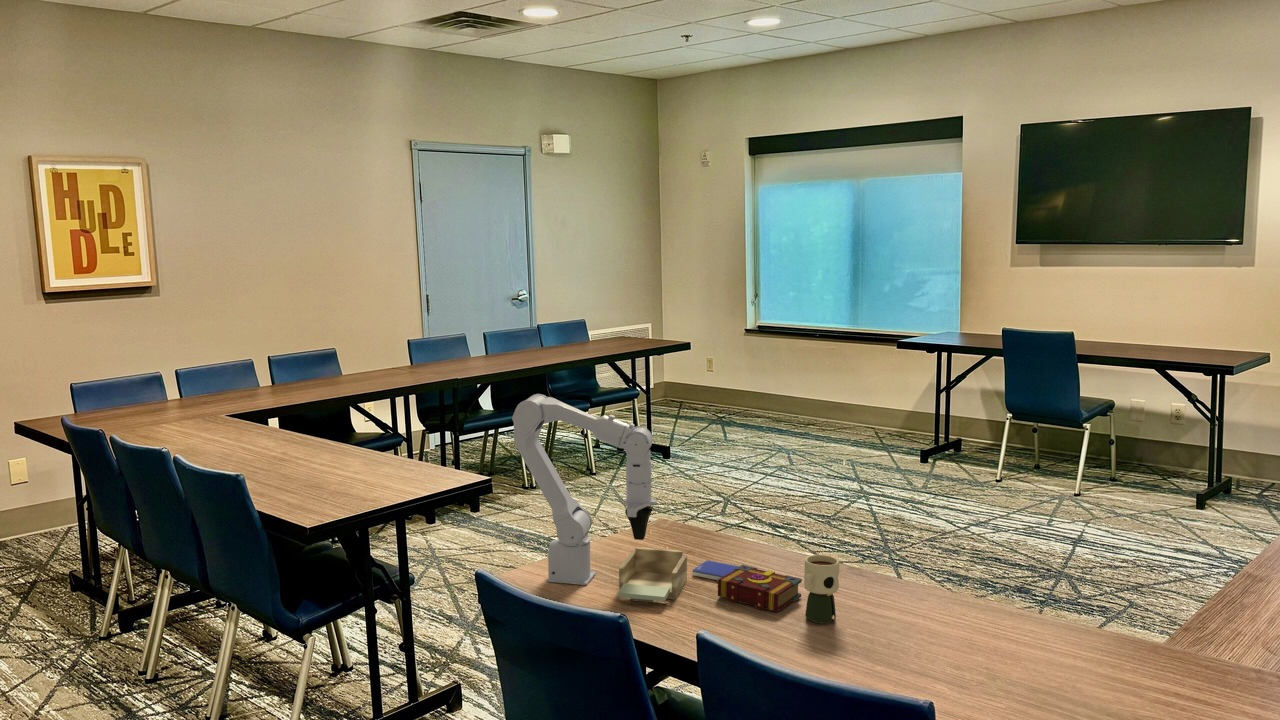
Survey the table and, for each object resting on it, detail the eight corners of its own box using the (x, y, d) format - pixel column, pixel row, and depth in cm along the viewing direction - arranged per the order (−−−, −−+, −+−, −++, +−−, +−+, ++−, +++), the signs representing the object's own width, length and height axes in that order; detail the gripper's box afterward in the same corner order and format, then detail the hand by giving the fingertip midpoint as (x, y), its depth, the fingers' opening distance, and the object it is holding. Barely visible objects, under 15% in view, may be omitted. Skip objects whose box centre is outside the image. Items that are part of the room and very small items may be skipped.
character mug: (820, 632, 199) (822, 570, 197) (791, 623, 203) (792, 562, 202) (849, 616, 206) (850, 557, 205) (820, 608, 211) (821, 549, 209)
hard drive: (692, 569, 230) (740, 579, 224) (707, 559, 237) (755, 568, 231) (692, 576, 230) (740, 585, 224) (707, 565, 237) (755, 574, 231)
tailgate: (624, 590, 218) (617, 599, 213) (624, 583, 218) (617, 592, 213) (669, 594, 216) (664, 604, 210) (669, 587, 215) (664, 596, 210)
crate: (619, 594, 219) (619, 563, 218) (632, 575, 231) (632, 546, 230) (676, 599, 216) (676, 568, 215) (686, 580, 228) (686, 551, 227)
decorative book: (776, 614, 208) (777, 592, 207) (711, 597, 217) (712, 575, 216) (801, 598, 217) (802, 576, 216) (738, 581, 226) (738, 561, 225)
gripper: (648, 490, 215) (649, 550, 217) (662, 473, 229) (663, 530, 231) (617, 488, 217) (618, 548, 219) (633, 472, 231) (634, 528, 233)
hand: (639, 538), depth 225 cm, fingers closed
